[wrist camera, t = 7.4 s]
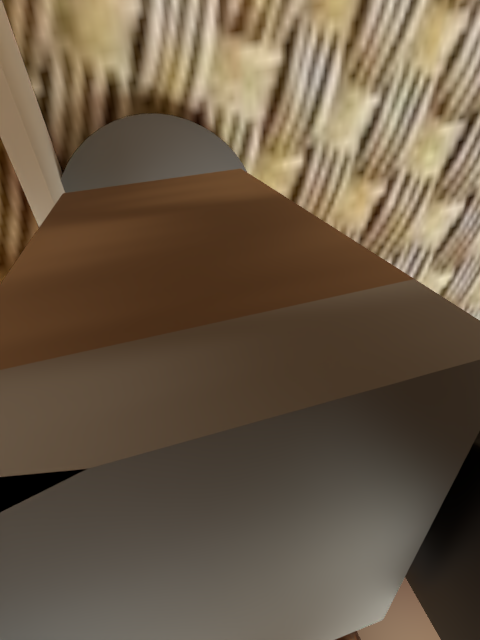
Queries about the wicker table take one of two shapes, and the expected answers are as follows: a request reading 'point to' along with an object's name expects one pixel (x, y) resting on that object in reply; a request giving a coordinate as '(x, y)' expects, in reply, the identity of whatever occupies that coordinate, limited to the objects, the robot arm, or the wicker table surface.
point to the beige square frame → (26, 129)
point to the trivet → (146, 153)
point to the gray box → (218, 418)
